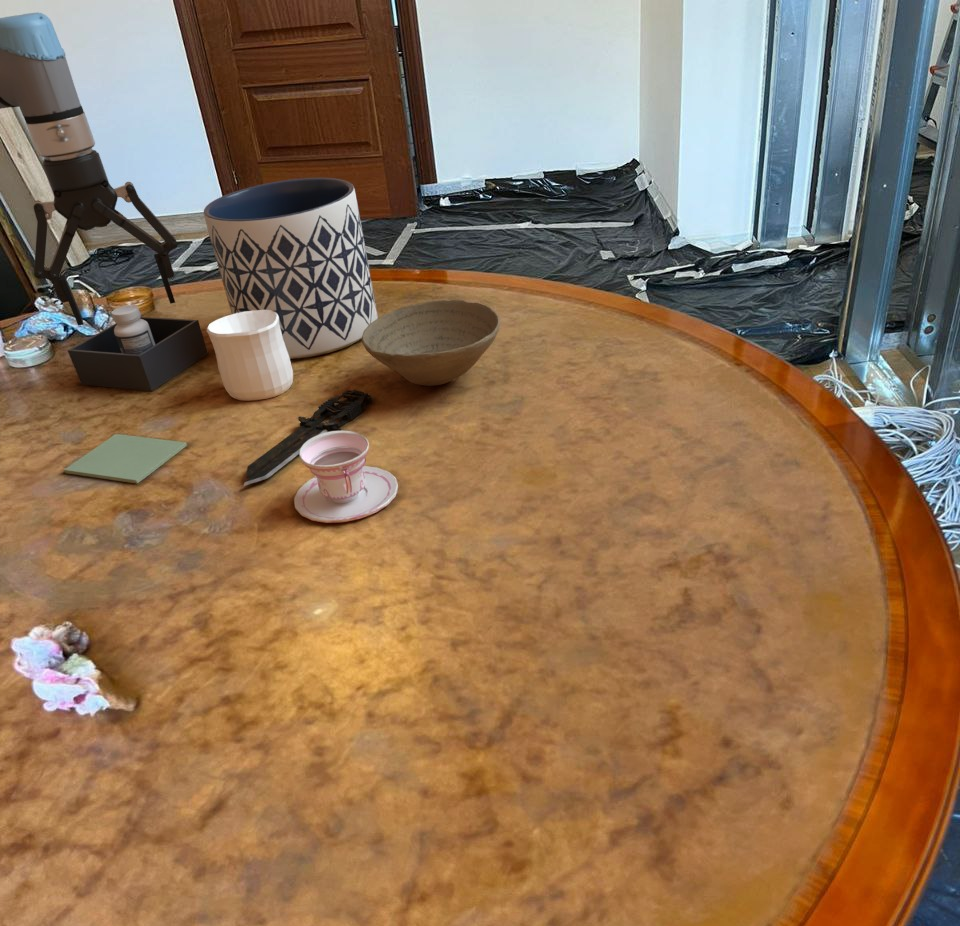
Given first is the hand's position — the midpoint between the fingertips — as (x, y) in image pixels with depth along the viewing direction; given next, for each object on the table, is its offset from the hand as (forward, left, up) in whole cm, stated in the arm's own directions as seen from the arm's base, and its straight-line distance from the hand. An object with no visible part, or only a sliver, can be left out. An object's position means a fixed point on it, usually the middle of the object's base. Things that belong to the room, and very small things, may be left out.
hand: (126, 311), depth 133 cm
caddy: (0, 0, -9) cm, 9 cm away
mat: (+18, -26, -9) cm, 32 cm away
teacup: (+52, -27, -9) cm, 59 cm away
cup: (+24, -3, -9) cm, 26 cm away
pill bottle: (0, 0, -9) cm, 9 cm away
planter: (+20, +17, -9) cm, 28 cm away
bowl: (+49, +4, -9) cm, 50 cm away
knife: (+40, -16, -9) cm, 44 cm away
